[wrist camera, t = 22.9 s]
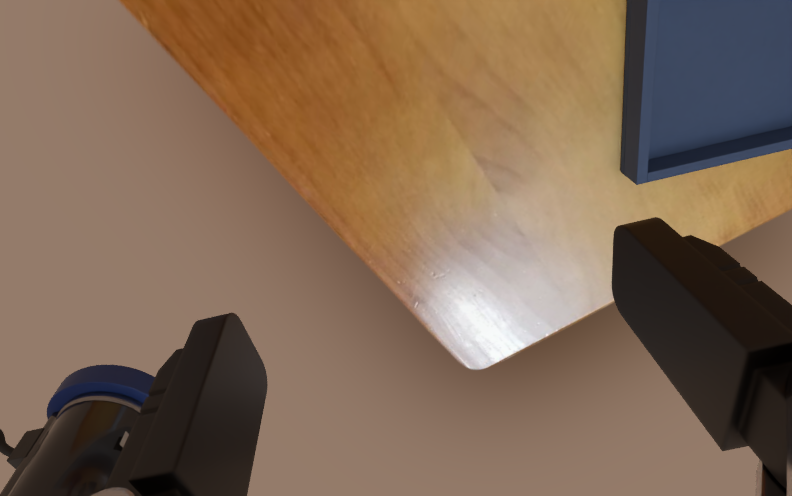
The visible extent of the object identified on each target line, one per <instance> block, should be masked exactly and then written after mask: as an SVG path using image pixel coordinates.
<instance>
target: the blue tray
mask: <svg viewBox="0 0 792 496" xmlns="http://www.w3.org/2000/svg"><path fill="white" fill-rule="evenodd" d="M788 149H792V0H627V19H626V44H625V70H624V95H623V121H622V146H621V172H622V173H623V174H624V175H625V176H627V177H628V178H629V179H630V180H631V181H633V182H634V183H635V184H636V185H638V184H642V183H646V182H651V181H655V180H659V179H663V178H668V177H672V176H676V175H681V174H685V173H689V172H693V171H698V170H702V169H706V168H710V167H715V166H719V165H723V164H728V163H732V162H736V161H740V160H745V159H749V158H753V157H758V156H762V155H766V154H770V153H775V152H779V151H783V150H788Z"/></svg>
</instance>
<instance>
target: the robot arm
mask: <svg viewBox="0 0 792 496" xmlns="http://www.w3.org/2000/svg"><path fill="white" fill-rule="evenodd" d="M612 292H613V297H614V300H615V303H616V306H617V308H618V310H619V312H620V313H621V315H622V316H623V318H624V319H625V321H626V322H627V323H628V325H629V326H630V327H631V329H632V330H633V331H634V333H635V334H636V335H637V337H638V338H639V339H640V341H641V342H642V343H643V345H644V346H645V348H646V349H647V350H648V352H649V353H650V354H651V355H652V357H653V358H654V360H655V361H656V362H657V364H658V365H659V366H660V368H661V369H662V370H663V372H664V373H665V374H666V376H667V377H668V378H669V380H670V381H671V383H672V384H673V385H674V387H675V388H676V389H677V391H678V392H679V393H680V395H681V396H682V397H683V399H684V400H685V401H686V403H687V404H688V405H689V407H690V408H691V409H692V411H693V412H694V413H695V415H696V416H697V417H698V419H699V420H700V422H701V423H702V424H703V426H704V427H705V428H706V430H707V431H708V432H709V434H710V435H711V436H712V438H713V439H714V440H715V442H716V443H717V444H718V446H719V447H720V449H721V450H722V451H725V450H730V449H735V448H740V447H745V446H750V448H751V449H752V450H753V451H754V453H755V454H756V455H757V456H758V457H759V459H760V461H759V463H758V467H757V479H756V496H792V305H791V304H790V303H788V302H787V301H786V300H785V299H783V298H782V297H781V296H780V295H778V294H777V293H776V292H775V291H773V290H772V289H771V288H770V287H768V286H767V285H766V284H765V283H763V282H762V281H758V280H757V277H756V276H755V275H754V274H752V273H751V272H750V271H749V270H747V269H746V268H745V267H740V263H738V262H737V261H736V260H735V259H734V258H732V257H731V256H730V255H729V254H727V253H726V252H725V251H724V250H722V249H721V248H720V247H718V246H716V245H713V244H711V243H709V242H706V241H704V240H701V239H699V238H696V237H694V236H692V235H690V236H685V237H682V236H680V235H679V234H678V233H677V232H676V231H675V230H673V229H672V228H671V227H670V226H669V225H668V224H667V223H665V222H664V221H663V220H662V219H660V218H656V217H655V218H651V219H646V220H642V221H637V222H633V223H629V224H624V225H620V226H617V227H616V229H615V231H614V239H613V266H612ZM148 393H149V397H146V399H145V401H144V403H141V402H139V401H138V400H136V399H133V398H131V397H128V396H125V395H122V394H118V393H112V392H89V393H84V394H80V395H77V396H75V397H73V398H71V399H70V400H68V401H67V402H66V403H65V404H64V406H63V407H62V409H61V410H60V411H57V412H54V413H52V415H51V416H50V418H49V420H48V421H47V423H46V424H45V426H44V427H43V428H41V429H36V430H32V431H27V432H26V433H25V434H24V436H23V437H22V439H21V440H20V442H19V443H18V445H17V446H16V447H15V449H14V448H12V447H10V446H9V445H8V444H6V441H5V437H4V434H3V432H2V430H0V452H1V453H3V454H4V455H6V456H8V457H9V458H8V459H7V462H9V463H10V464H11V465H12V466H13V467H14V468H15V469H16V470H15V472H14V474H13V475H12V477H11V478H10V480H9V481H8V483H7V484H6V486H5V487H4V489H3V491H2V492H1V494H0V496H247V492H248V487H249V482H250V476H251V471H252V466H253V461H254V455H255V450H256V445H257V440H258V434H259V429H260V424H261V419H262V414H263V409H264V403H265V398H266V393H267V375H266V370H265V367H264V364H263V362H262V360H261V358H260V356H259V354H258V352H257V350H256V348H255V346H254V345H253V343H252V341H251V339H250V337H249V335H248V333H247V331H246V330H245V328H244V326H243V324H242V322H241V320H240V319H239V317H238V316H237V315H236V314H234V313H229V314H224V315H220V316H216V317H212V318H207V319H203V320H198V321H197V322H195V324H194V325H193V327H192V330H191V332H190V335H189V337H188V339H187V342H186V344H185V346H184V348H183V349H178V350H176V351H175V352H174V353H173V355H172V356H171V357H170V358H169V359H168V360H167V362H166V363H165V364H164V365H163V366H162V367H161V368H160V370H159V371H158V373H157V375H156V377H155V379H154V381H153V383H152V386H151V388H150V390H149V392H148Z"/></svg>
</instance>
